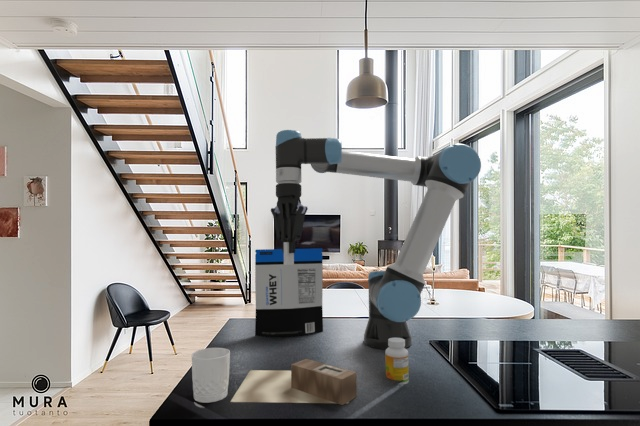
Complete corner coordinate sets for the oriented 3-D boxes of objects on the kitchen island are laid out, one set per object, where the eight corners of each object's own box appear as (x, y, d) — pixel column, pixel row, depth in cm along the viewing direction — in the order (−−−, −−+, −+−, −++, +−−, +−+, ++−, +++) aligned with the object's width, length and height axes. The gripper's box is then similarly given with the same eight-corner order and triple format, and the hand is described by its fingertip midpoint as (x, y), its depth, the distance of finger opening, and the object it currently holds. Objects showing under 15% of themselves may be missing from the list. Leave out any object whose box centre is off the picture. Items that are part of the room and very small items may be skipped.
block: (291, 363, 84) (342, 378, 75) (306, 358, 88) (356, 371, 79) (291, 387, 84) (342, 405, 75) (306, 380, 88) (356, 396, 79)
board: (346, 375, 94) (346, 371, 94) (348, 409, 76) (348, 403, 76) (250, 375, 95) (250, 370, 95) (230, 407, 77) (230, 401, 77)
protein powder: (326, 334, 132) (325, 248, 134) (256, 339, 127) (256, 250, 129) (319, 328, 142) (319, 248, 143) (254, 332, 136) (254, 249, 138)
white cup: (196, 394, 83) (196, 348, 84) (232, 392, 84) (232, 347, 85) (186, 410, 76) (187, 359, 76) (226, 409, 76) (227, 358, 77)
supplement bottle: (384, 376, 93) (383, 336, 93) (406, 377, 93) (405, 336, 93) (387, 385, 87) (386, 342, 88) (410, 385, 87) (410, 342, 88)
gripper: (264, 184, 112) (263, 264, 111) (296, 180, 104) (296, 266, 103) (282, 187, 118) (282, 262, 117) (313, 183, 110) (314, 264, 109)
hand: (288, 264), depth 110 cm, fingers closed
